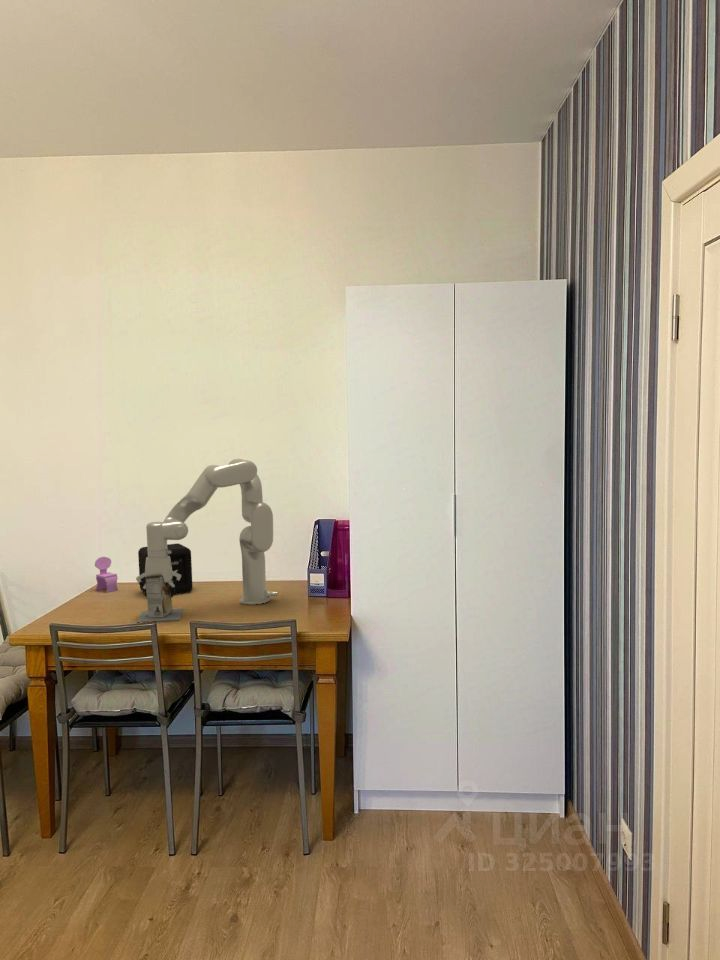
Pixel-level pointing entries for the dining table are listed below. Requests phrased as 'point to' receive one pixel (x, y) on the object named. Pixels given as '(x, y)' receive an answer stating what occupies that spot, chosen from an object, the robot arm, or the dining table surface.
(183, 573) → the black rounded block
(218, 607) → the dining table surface
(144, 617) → the slate mat
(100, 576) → the toy chair
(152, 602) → the coffee box
